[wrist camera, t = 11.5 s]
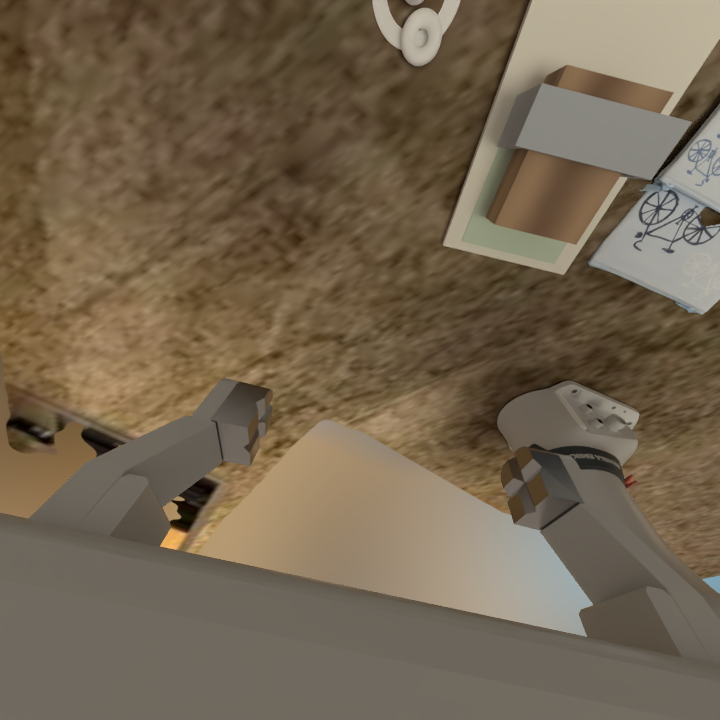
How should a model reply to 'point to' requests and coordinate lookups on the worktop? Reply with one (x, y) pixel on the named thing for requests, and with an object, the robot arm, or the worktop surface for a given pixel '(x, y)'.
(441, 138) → the worktop surface
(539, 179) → the wood grain block
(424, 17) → the white ring-shaped piece
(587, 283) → the worktop surface
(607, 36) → the board
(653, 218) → the bicycle print towel
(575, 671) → the robot arm
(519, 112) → the tunnel
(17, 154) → the worktop surface
